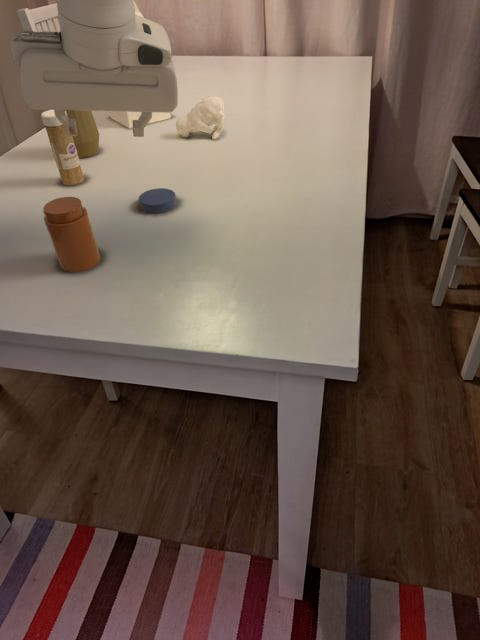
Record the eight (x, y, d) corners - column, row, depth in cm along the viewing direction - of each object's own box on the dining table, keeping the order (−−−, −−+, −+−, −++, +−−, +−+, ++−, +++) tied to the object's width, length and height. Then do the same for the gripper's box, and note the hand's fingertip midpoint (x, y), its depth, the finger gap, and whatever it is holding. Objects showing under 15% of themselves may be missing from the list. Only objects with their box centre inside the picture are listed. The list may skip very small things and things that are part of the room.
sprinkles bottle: (78, 187, 92) (58, 116, 83) (57, 185, 93) (35, 115, 84) (88, 177, 95) (70, 108, 86) (68, 176, 96) (48, 107, 87)
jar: (52, 264, 71) (31, 208, 65) (83, 247, 75) (66, 191, 68) (77, 277, 68) (57, 219, 62) (108, 258, 72) (92, 201, 66)
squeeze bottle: (73, 147, 108) (49, 61, 97) (107, 146, 108) (87, 59, 96) (62, 161, 102) (34, 71, 91) (97, 160, 102) (75, 69, 90)
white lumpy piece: (222, 99, 102) (169, 107, 103) (228, 138, 108) (178, 145, 109) (223, 91, 107) (172, 99, 108) (228, 128, 112) (180, 136, 113)
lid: (177, 212, 82) (175, 202, 81) (140, 216, 82) (138, 206, 80) (176, 195, 87) (174, 186, 86) (141, 199, 87) (139, 190, 85)
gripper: (5, 43, 53) (29, 147, 64) (184, 53, 58) (176, 148, 69) (6, 15, 56) (29, 119, 67) (176, 28, 61) (170, 122, 73)
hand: (105, 134), depth 68 cm, fingers open, 8 cm apart
